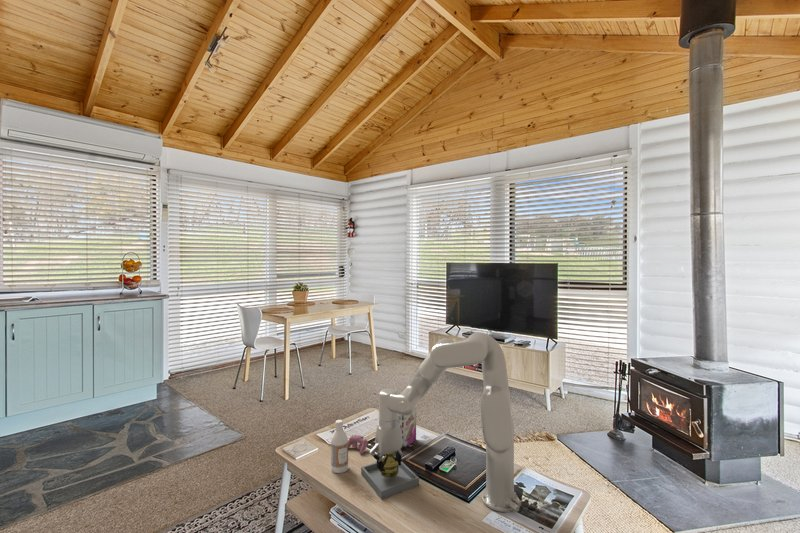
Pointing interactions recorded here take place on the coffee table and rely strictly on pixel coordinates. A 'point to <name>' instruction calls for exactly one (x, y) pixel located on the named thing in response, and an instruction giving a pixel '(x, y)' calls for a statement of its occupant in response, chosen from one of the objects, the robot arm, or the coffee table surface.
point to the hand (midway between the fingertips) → (389, 466)
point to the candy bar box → (408, 427)
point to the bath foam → (339, 449)
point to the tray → (389, 480)
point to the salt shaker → (390, 465)
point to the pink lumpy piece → (359, 439)
